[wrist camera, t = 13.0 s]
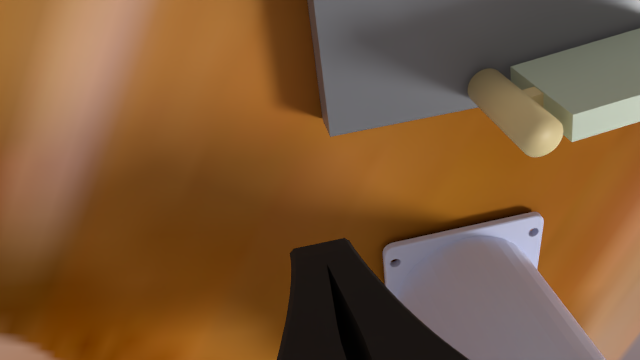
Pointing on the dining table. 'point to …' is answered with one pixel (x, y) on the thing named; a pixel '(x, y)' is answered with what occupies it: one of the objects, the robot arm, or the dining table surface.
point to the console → (438, 50)
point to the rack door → (564, 94)
